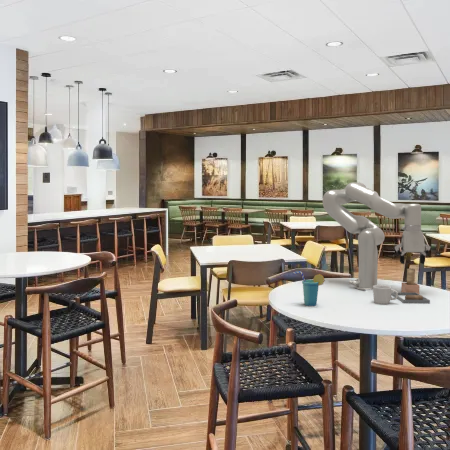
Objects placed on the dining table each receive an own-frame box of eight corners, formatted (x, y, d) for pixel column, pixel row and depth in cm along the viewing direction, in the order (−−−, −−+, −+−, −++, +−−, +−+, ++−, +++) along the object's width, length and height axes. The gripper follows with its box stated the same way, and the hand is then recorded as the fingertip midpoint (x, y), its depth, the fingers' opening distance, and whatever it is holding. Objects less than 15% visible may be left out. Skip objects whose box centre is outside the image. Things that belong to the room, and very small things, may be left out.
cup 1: (292, 305, 207) (292, 272, 206) (293, 301, 214) (293, 269, 213) (324, 307, 204) (324, 273, 203) (324, 303, 211) (324, 270, 210)
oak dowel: (407, 293, 229) (408, 269, 228) (405, 292, 232) (406, 268, 231) (415, 293, 228) (416, 269, 228) (412, 292, 232) (413, 268, 231)
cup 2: (397, 303, 213) (397, 285, 212) (397, 307, 205) (398, 289, 205) (372, 301, 216) (373, 284, 216) (372, 305, 209) (372, 287, 208)
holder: (406, 296, 227) (406, 284, 227) (401, 293, 234) (401, 282, 233) (419, 296, 227) (419, 285, 227) (414, 293, 233) (414, 282, 233)
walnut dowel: (406, 302, 212) (407, 297, 211) (404, 299, 215) (405, 293, 214) (422, 303, 212) (423, 297, 211) (419, 299, 215) (420, 294, 214)
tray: (403, 304, 210) (403, 299, 210) (390, 296, 226) (391, 292, 226) (429, 304, 210) (429, 300, 210) (415, 296, 226) (415, 292, 226)
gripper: (397, 229, 224) (397, 264, 225) (433, 229, 224) (433, 264, 225) (392, 228, 232) (392, 262, 233) (427, 228, 231) (426, 262, 232)
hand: (412, 263), depth 229 cm, fingers open, 9 cm apart
